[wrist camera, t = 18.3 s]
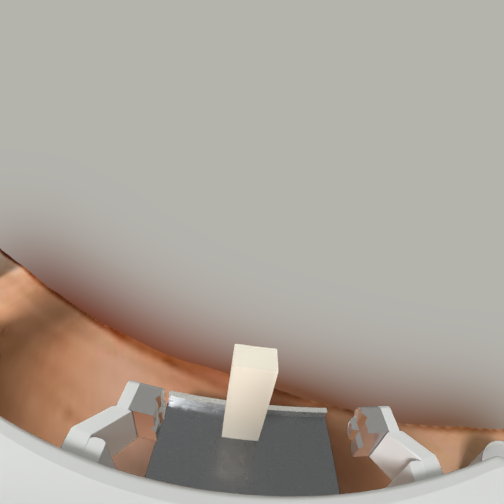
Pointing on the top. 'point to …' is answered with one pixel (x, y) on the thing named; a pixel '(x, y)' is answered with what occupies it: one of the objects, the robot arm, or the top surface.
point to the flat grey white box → (243, 451)
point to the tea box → (249, 391)
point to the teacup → (490, 452)
